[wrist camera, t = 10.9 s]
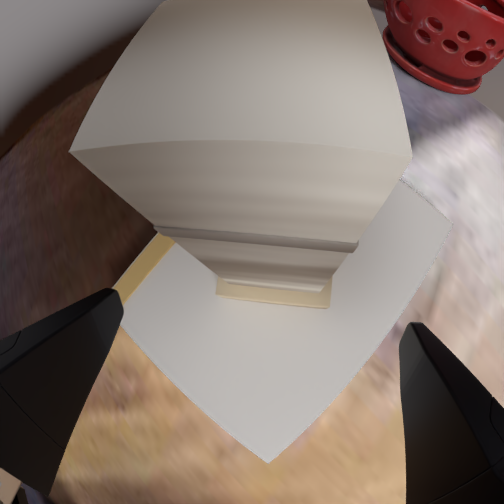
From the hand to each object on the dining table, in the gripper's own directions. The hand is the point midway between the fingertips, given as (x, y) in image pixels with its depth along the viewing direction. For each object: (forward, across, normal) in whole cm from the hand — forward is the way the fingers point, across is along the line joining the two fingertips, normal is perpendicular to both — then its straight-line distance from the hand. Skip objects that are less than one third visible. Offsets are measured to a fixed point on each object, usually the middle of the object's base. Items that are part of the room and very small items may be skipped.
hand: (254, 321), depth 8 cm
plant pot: (+25, -14, -12) cm, 31 cm away
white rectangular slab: (+9, 0, +4) cm, 10 cm away
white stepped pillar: (+8, 0, +2) cm, 8 cm away
